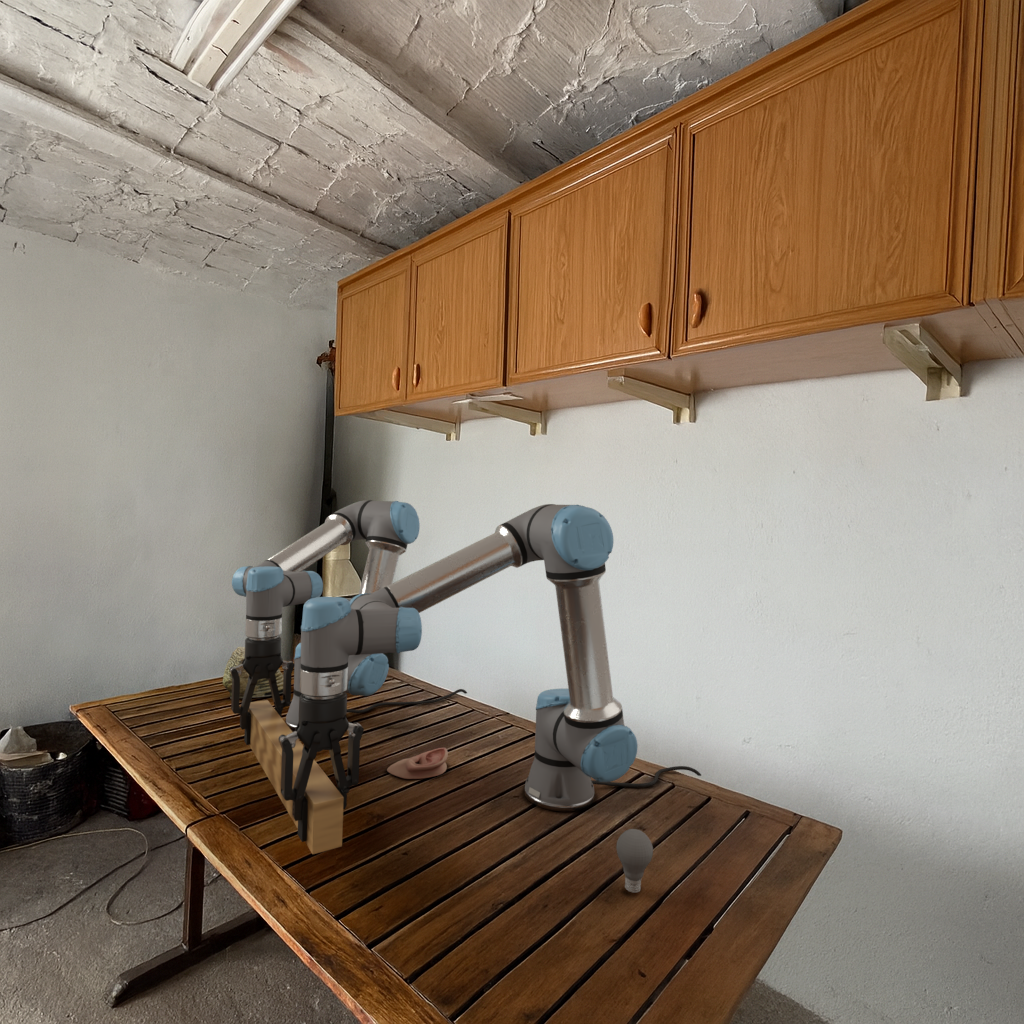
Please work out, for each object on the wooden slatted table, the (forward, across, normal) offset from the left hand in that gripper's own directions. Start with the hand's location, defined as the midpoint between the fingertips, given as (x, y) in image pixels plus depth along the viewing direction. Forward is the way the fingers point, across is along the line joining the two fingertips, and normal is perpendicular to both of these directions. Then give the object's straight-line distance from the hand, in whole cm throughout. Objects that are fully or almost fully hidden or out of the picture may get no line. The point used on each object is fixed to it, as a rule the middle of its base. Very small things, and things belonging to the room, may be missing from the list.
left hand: (260, 740), depth 141 cm
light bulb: (+9, +45, -72) cm, 85 cm away
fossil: (+9, +11, +60) cm, 62 cm away
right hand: (0, 0, -44) cm, 45 cm away
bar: (+1, 0, -22) cm, 22 cm away
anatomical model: (+9, +33, -13) cm, 36 cm away
